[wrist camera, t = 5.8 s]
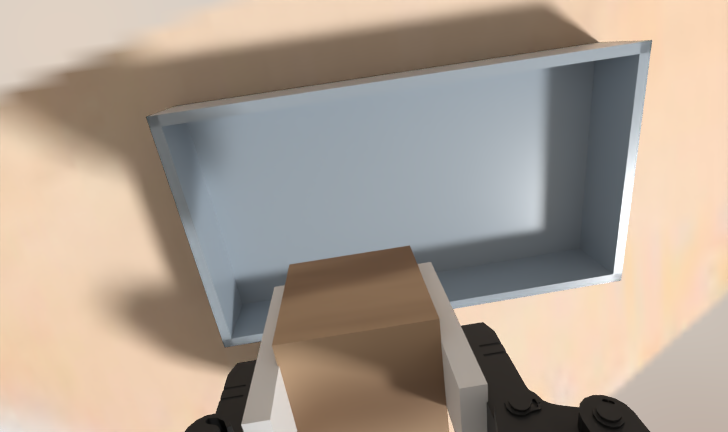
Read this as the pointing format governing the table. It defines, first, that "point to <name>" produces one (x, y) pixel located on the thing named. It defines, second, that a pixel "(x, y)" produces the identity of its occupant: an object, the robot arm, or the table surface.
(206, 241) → the tote
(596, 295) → the table surface
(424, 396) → the walnut cube
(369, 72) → the table surface
